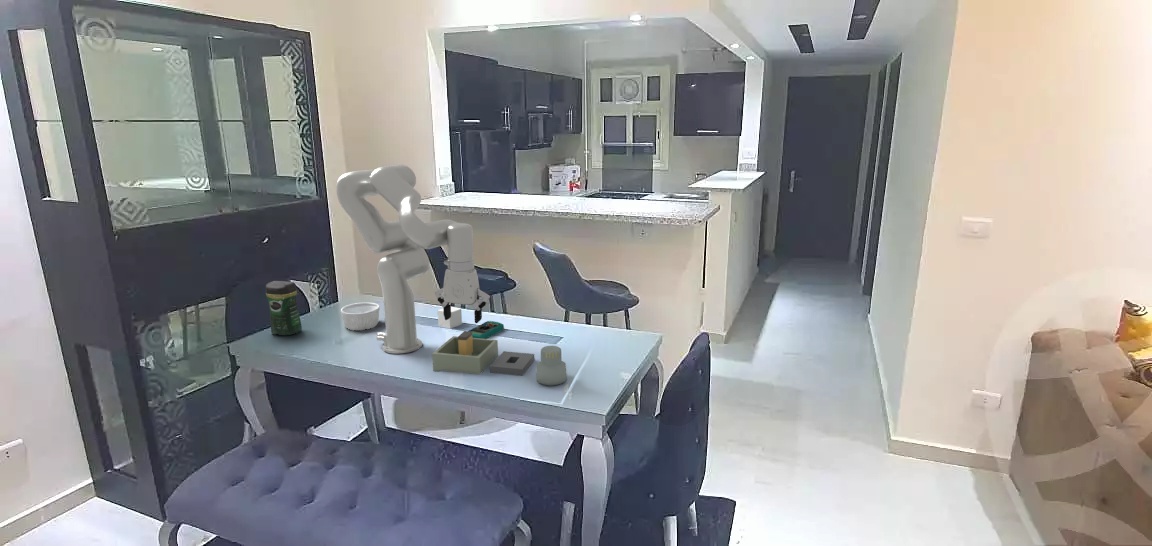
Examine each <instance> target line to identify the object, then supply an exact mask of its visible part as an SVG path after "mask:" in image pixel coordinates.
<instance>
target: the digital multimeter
mask: <svg viewBox="0 0 1152 546" xmlns="http://www.w3.org/2000/svg"><path fill="white" fill-rule="evenodd" d="M504 329H505V327H504V324H503V323H502V322H498V321H494V320H493V321H492V320H487V321H485V322H483V323H482V324H481V323H480V324H479V325H478V326H475V327H473V328H472V329H471V328H470V329H469V330H468V331H470V332H472V338H480V339H489V338H490V337H492V336H495V335H496V334H498V333H500V332H502V331H503V330H504Z"/></svg>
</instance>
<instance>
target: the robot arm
mask: <svg viewBox="0 0 1152 546" xmlns="http://www.w3.org/2000/svg"><path fill="white" fill-rule="evenodd" d="M416 184H417V177H416V174H415V172H414V171H413V169H412V168H410V167H409V166H408V165H404V164H395V165H386V166H384V165H383V166H380V167H377V168H375V169H363V170H354V171H349V172H345V173H343V174H342V175H341V176H339V178H337V182H336V185H335V189H336V197H337V199H338V202H339V204H340V205H341V207H342V209H343V210H344V212H345V213H346V214H347V215H348V216H349V219H351V220H352V222H353V223H354V225H355V227H356V229H357V230H358V233H359V234H360V236H361V237H362V239H363V241H364V242H365V243H364V244H366V246H367V248H368V249H369V250H370V252H371V253H373V254H376V255H381V254H387V253H388V254H387V255H384V256H382V258H380V260H379V261H378V263H377V265H376V266H377V267H376V268H377V269H376V270H377V276H378V278H379V282H380V286H381V291H382V292H381V293H382V300H383V301H382V302H383V308H384V309H383V311H384V321H385V332H377V334H376V341H382V342H383V344H382V350H383V351H384V352H385V353H388V354H398V355H399V354H407V353H412V352H415V351H418V350H419V349H420V348H421V347H422V346H423V341H422V340H421V339H420V338H418V336H417V335H418V334H417V322H416V321H417V320H416V308H415V296H414V295H415V294H414V291H413V289H412V287H411V286H410V285H409V283H408V281H410V280H412V279H415V278H419V277H421V276H425V274H427V272H428V271H429V269H430V264H431V263H430V260H429V256H428V254H427V252H426V250H431V249H435V248H438V247H443V246H447V259H446V260H444V261H443V264H444V265H445V266H447V268H446V269H445V272H444V278H443V286H442V288H440V289H437V290H435V291H434V295H435V297H436V299H437V302H439V303H440V306H441V307H442V308H443V313H444V316H445V320H448V319H449V318H450V317H451V307H452V306H451V304H455V305H464V306H473V307H474V308H475V310H474V312H473V313H474V315H473V316H474V323H475V324H478V323H479V322H480V321H481V320H482V317H483V313H482V312H483V308H484V307H485V306H486V305H487V304H488V302H489V300H490V298H491V296H490V295H489V294H488V293H486V292H485V291H482V290H481V289H480V284H479V283H480V282H479V277H478V273H477V269H475V254H474V251H475V250H474V248H475V247H474V245H475V244H474V243H475V242H474V228H473V226H472V225H471V224H469V223H467V222H466V223H465V222H457V221H454V220H453V219H449V218H447V219H440V220H433V221H429V222H424V221H423V220H421V219H420V218H419V217H418V215H416V214H415V211H416V210H417V209H418V208H419V207H420V205H421V203H422V196H421V194H420V193H419V192H418V191H417V189H415V186H416ZM377 196H381V197H382V198H383V199H384V200H385V201H386V202H388V204H390V205H391V206H392V208H393V209H395V211H396V212H398V220H394V221H393V220H392V221H386V220H385V219H384V217H383V216H382V214H381V213H380V211H379V210H378V209H377V207H376V206H375V205H373V204H372V203H371V202H369V201H368V200H366V199H365V198H369V197H377ZM480 297H481V298H482V302H481V301H480Z"/></svg>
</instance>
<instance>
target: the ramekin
mask: <svg viewBox="0 0 1152 546" xmlns="http://www.w3.org/2000/svg"><path fill="white" fill-rule="evenodd" d="M340 314H341V317H342V321H343V325H344V327H345V328H346V329H347V328H348V329H347V330H349V329H351V330H350V331H354V330H360V331H366V330H365V329H367V330H370V328H371V329H373V328H376V326H377V325H378V324H379V317H380V305H379V304H378V303H375V302H356V303H350V304H347V305H344V306H342V308H341V309H340Z"/></svg>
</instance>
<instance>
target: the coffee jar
mask: <svg viewBox="0 0 1152 546" xmlns="http://www.w3.org/2000/svg"><path fill="white" fill-rule="evenodd" d="M297 289H298V288H297V285H296V283H295V282H294V281H285V280H284V281H283V280H273V281H270V282H268V283H266V284H265V295H266V298H267V301H268V305H269V308H268V309H269V317H270V318H269V319H270V332H271V334H273V335H276V334H279V336H291V335H296V334H298V333H299V332H300V331H302V329H303V328H302V321H301V316H300V312H299V308H298V307H299V306H298V303H297V302H298V301H297V294H298V290H297ZM295 333H296V334H295Z"/></svg>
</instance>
